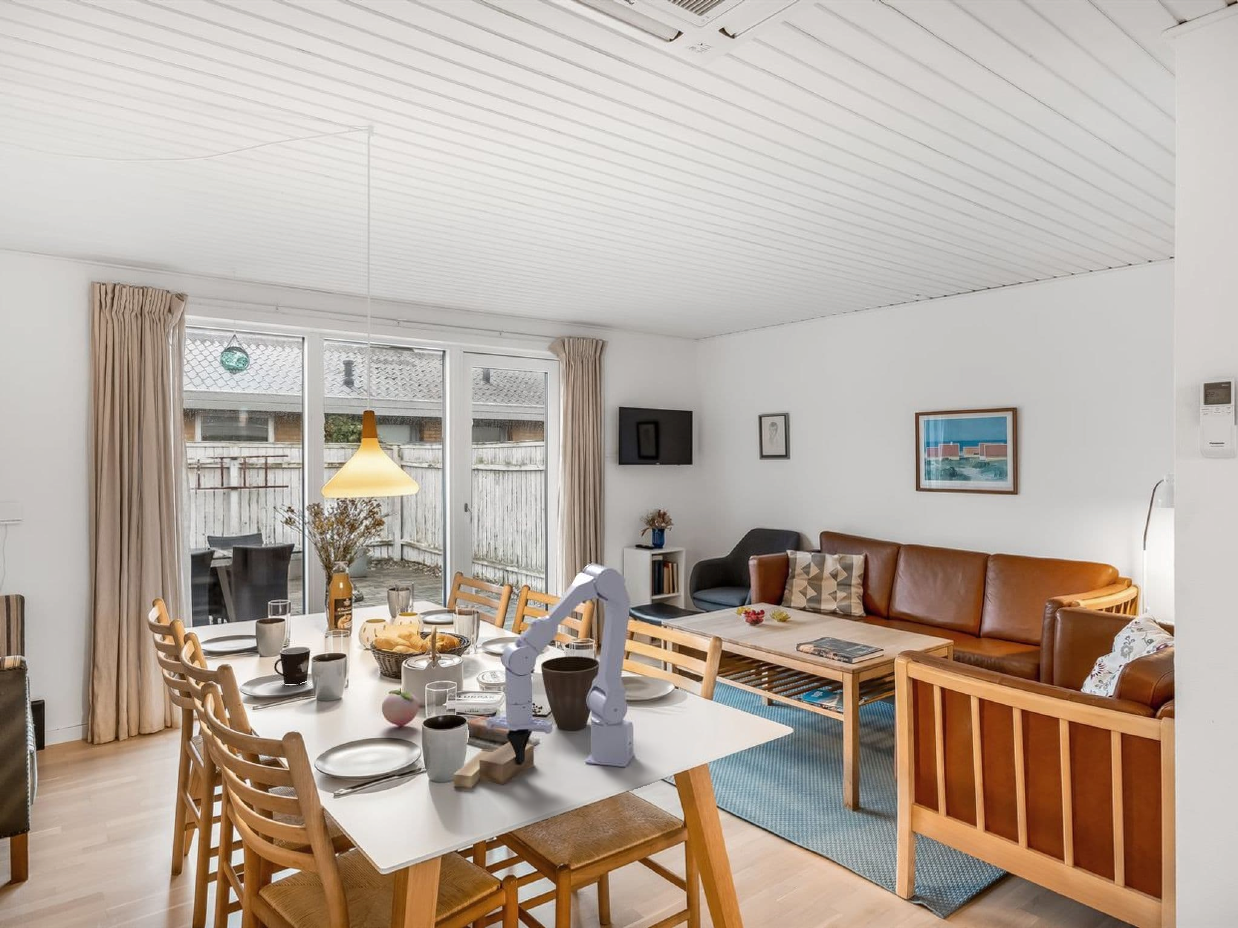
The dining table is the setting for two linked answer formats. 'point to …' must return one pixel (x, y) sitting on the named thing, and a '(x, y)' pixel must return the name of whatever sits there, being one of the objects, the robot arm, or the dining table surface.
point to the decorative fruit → (400, 707)
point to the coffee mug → (294, 664)
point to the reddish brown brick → (489, 735)
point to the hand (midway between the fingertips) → (520, 762)
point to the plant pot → (569, 689)
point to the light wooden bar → (470, 771)
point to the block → (504, 764)
